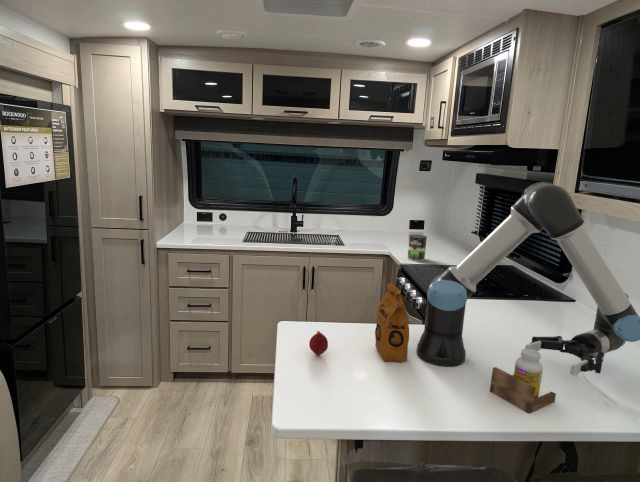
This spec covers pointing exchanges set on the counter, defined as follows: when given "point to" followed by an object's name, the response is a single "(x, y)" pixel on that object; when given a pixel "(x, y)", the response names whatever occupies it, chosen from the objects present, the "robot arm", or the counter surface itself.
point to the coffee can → (417, 247)
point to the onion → (318, 343)
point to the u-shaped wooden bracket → (518, 392)
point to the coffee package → (392, 327)
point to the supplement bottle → (529, 368)
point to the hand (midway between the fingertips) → (548, 359)
